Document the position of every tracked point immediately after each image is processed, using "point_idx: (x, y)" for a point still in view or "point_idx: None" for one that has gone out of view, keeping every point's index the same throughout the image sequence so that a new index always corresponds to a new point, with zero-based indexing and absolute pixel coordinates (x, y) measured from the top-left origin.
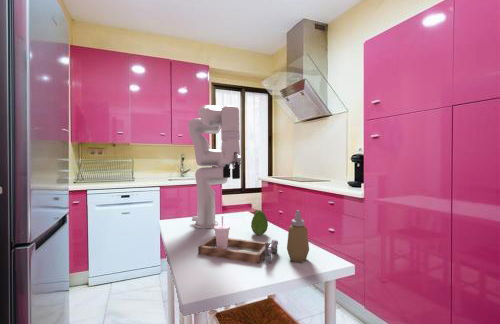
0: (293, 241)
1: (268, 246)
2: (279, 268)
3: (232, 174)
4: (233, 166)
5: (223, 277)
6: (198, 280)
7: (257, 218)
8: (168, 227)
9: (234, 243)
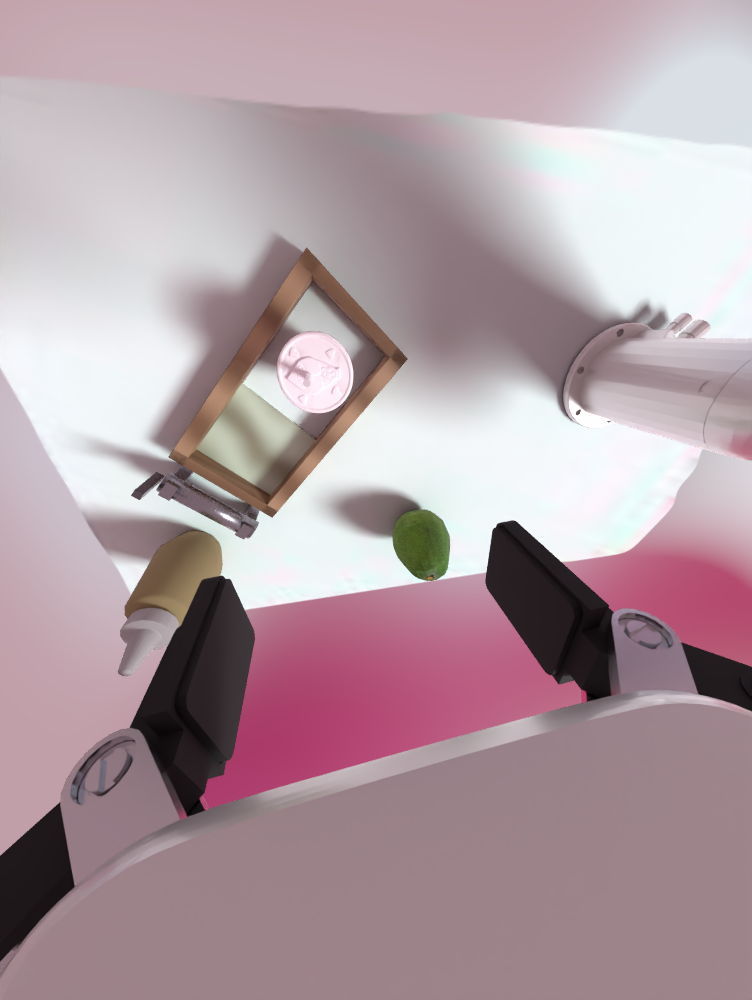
0: (148, 568)
1: (192, 499)
2: None
3: (186, 619)
4: (124, 786)
5: (76, 299)
6: (45, 185)
7: (412, 546)
8: (719, 175)
9: (334, 419)
